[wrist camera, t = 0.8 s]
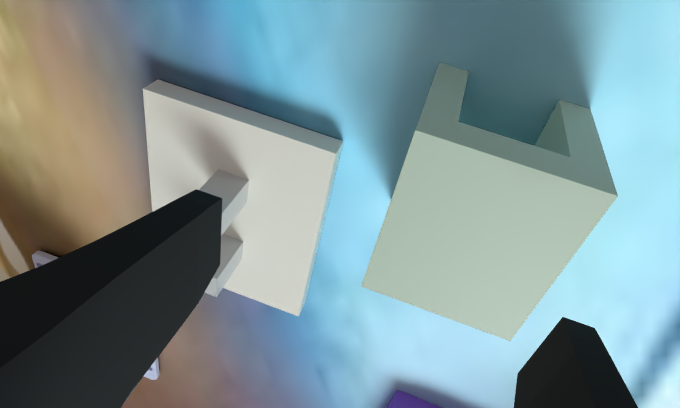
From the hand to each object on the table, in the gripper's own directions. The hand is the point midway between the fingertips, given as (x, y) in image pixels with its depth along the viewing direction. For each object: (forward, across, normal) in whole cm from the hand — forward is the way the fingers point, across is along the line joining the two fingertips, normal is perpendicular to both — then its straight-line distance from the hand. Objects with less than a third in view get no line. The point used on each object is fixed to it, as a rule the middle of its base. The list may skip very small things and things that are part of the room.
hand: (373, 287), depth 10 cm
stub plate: (+9, +7, +7) cm, 13 cm away
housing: (+9, -2, +1) cm, 9 cm away
